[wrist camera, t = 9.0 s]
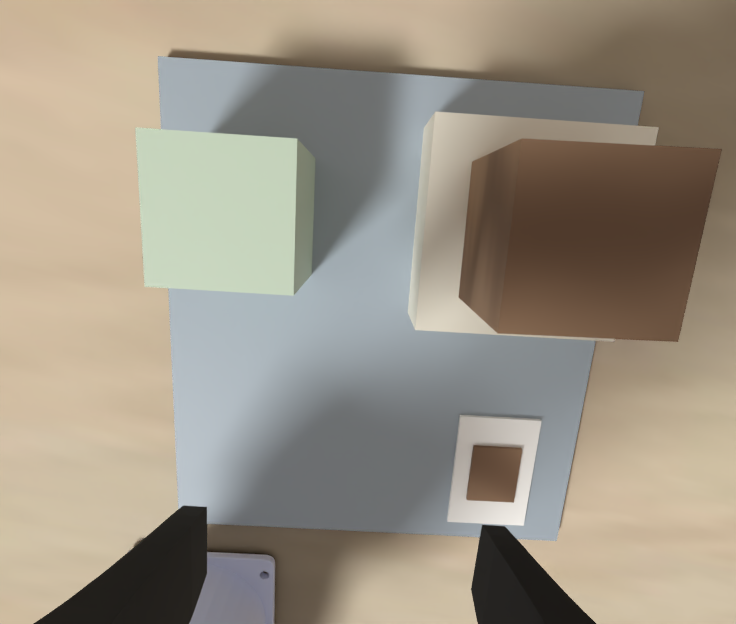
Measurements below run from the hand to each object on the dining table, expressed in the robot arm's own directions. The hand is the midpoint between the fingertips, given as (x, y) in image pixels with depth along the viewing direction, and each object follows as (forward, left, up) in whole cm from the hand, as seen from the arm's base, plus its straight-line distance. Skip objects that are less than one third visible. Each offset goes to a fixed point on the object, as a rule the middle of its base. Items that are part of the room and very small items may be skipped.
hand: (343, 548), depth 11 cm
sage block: (+8, +5, -10) cm, 14 cm away
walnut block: (+8, -6, -7) cm, 12 cm away
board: (+3, -1, -10) cm, 11 cm away
